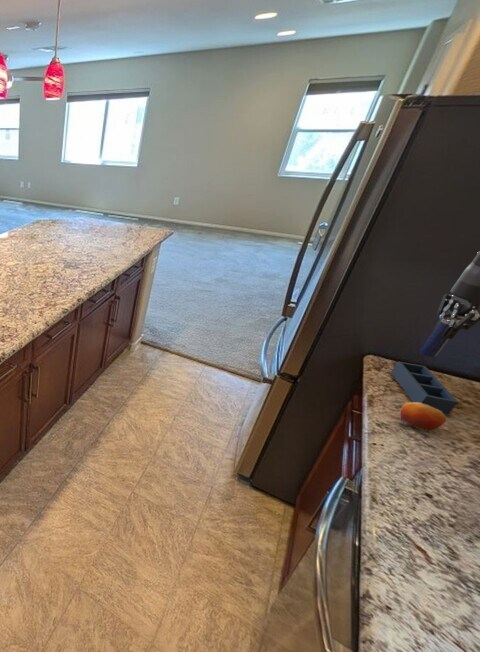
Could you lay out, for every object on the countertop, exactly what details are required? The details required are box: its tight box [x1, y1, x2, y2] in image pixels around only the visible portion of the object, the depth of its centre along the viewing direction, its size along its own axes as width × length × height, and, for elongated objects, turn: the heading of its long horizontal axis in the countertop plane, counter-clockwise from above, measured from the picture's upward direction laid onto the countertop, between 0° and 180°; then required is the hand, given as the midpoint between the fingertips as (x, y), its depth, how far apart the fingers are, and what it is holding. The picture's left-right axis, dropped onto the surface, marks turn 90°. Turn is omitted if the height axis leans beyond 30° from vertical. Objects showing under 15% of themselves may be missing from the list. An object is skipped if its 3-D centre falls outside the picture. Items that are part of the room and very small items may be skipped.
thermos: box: [418, 317, 460, 358], centre depth 114 cm, size 4×4×12 cm
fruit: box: [399, 401, 447, 434], centre depth 105 cm, size 8×8×8 cm
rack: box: [390, 361, 459, 415], centre depth 117 cm, size 7×18×4 cm, turn 155°
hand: (442, 333), depth 113 cm, fingers closed on thermos, 3 cm apart
